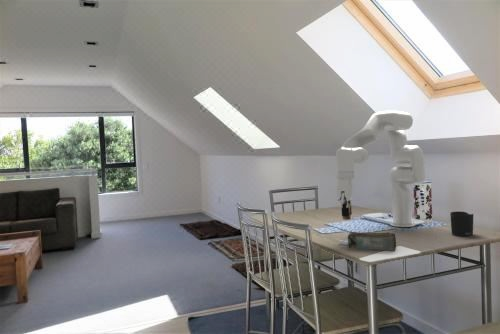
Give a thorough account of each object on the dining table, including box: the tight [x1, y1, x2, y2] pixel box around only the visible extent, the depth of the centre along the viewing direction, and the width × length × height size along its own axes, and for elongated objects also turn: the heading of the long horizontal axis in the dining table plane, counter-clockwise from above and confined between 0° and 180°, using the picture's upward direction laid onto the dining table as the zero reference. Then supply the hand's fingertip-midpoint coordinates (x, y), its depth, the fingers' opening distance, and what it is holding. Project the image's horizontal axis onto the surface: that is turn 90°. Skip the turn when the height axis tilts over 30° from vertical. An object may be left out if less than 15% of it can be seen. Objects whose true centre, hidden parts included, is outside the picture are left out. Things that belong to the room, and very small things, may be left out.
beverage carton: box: [347, 231, 397, 252], centre depth 162 cm, size 8×19×7 cm, turn 67°
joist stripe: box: [337, 236, 348, 246], centre depth 176 cm, size 16×9×1 cm, turn 150°
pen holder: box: [450, 211, 474, 237], centre depth 178 cm, size 9×9×10 cm
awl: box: [342, 200, 352, 221], centre depth 173 cm, size 3×3×11 cm
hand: (346, 215), depth 174 cm, fingers closed on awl, 3 cm apart
